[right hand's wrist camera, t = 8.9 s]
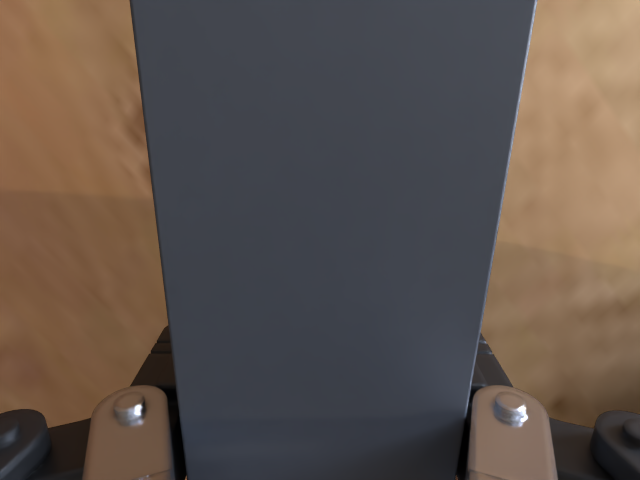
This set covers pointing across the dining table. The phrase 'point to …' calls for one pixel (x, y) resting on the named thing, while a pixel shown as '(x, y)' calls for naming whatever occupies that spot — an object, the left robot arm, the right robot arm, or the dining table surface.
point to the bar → (327, 223)
